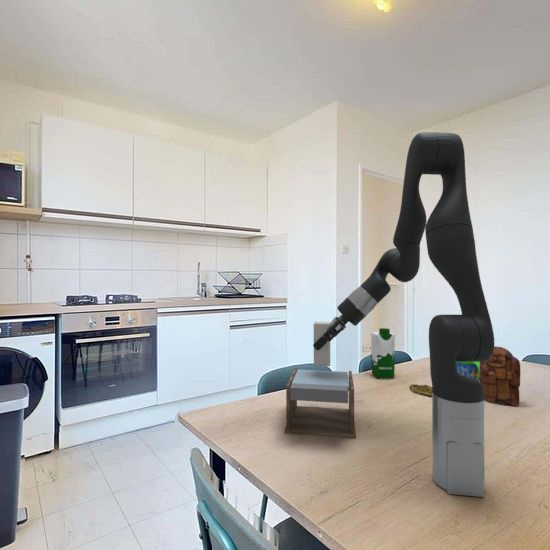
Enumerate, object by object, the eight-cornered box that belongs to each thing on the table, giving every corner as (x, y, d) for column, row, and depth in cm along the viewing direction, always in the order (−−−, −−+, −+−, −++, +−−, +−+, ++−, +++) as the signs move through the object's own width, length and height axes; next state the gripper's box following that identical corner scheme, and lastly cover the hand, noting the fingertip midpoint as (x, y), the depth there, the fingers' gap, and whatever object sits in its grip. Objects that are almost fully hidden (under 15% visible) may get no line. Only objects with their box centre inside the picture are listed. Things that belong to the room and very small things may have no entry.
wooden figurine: (477, 400, 120) (476, 346, 120) (480, 395, 125) (480, 343, 125) (520, 408, 113) (519, 350, 113) (521, 403, 118) (521, 347, 118)
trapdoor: (350, 403, 86) (350, 390, 86) (288, 399, 89) (288, 387, 89) (347, 378, 108) (347, 368, 108) (297, 376, 111) (297, 366, 111)
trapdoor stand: (356, 438, 91) (356, 389, 91) (284, 433, 94) (284, 385, 94) (353, 412, 109) (353, 371, 109) (292, 408, 112) (292, 368, 113)
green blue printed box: (444, 378, 147) (444, 353, 147) (469, 378, 147) (469, 353, 147) (465, 390, 131) (465, 362, 131) (493, 390, 131) (493, 362, 131)
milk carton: (375, 379, 144) (375, 329, 145) (369, 373, 154) (368, 326, 154) (397, 379, 145) (397, 329, 145) (389, 373, 154) (389, 326, 154)
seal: (402, 393, 131) (442, 404, 119) (401, 381, 131) (441, 390, 119) (416, 386, 137) (456, 395, 125) (415, 374, 137) (455, 382, 125)
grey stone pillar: (330, 366, 103) (329, 324, 103) (313, 365, 103) (313, 323, 103) (330, 362, 107) (330, 322, 108) (314, 361, 108) (314, 321, 108)
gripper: (347, 295, 111) (308, 333, 113) (348, 297, 97) (304, 341, 99) (365, 312, 110) (325, 350, 112) (369, 317, 96) (324, 361, 98)
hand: (315, 346), depth 106 cm, fingers closed on grey stone pillar, 5 cm apart
